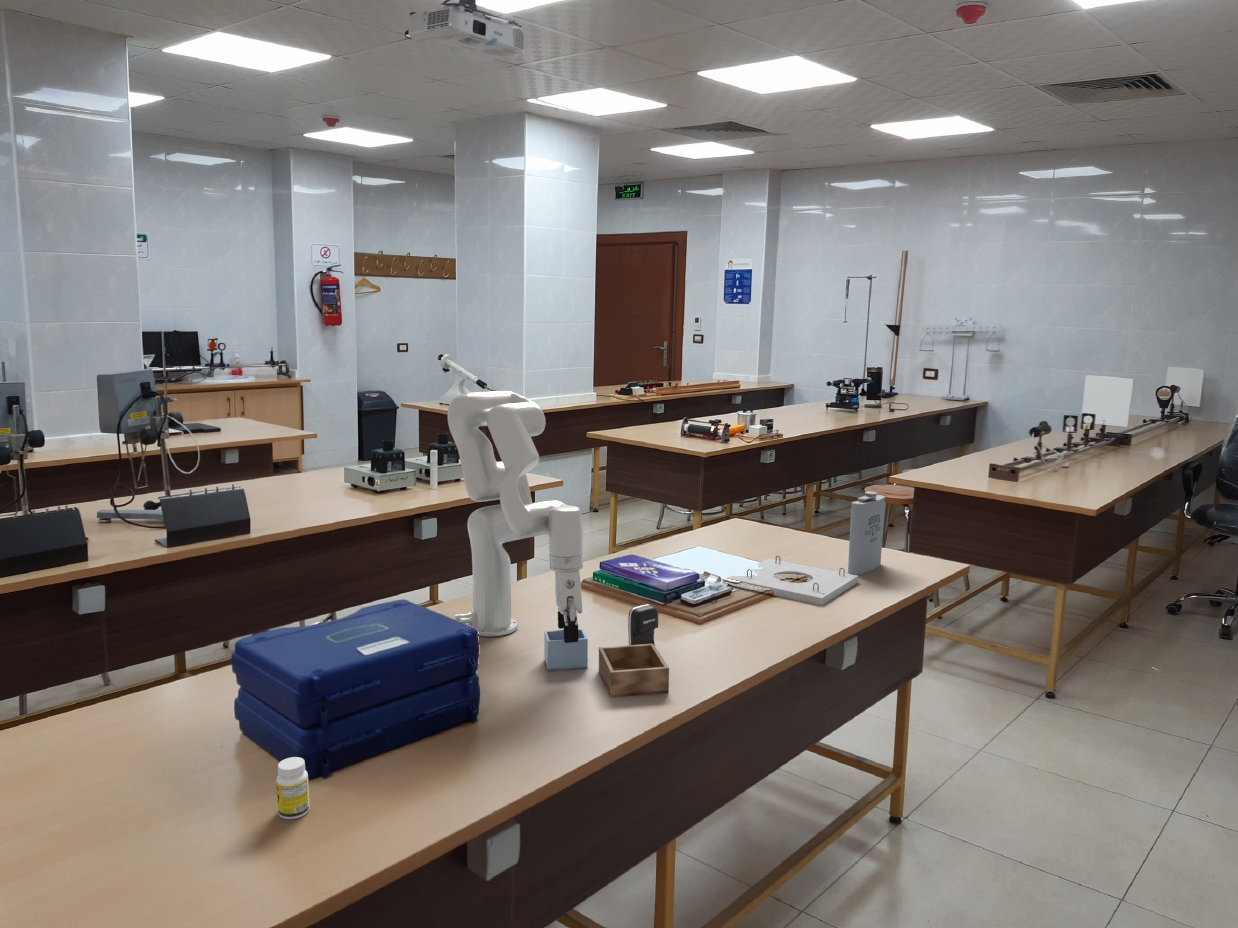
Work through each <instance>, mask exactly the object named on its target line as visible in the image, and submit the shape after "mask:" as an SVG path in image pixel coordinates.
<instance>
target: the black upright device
mask: <svg viewBox="0 0 1238 928" xmlns="http://www.w3.org/2000/svg"><path fill="white" fill-rule="evenodd" d="M658 611H659V610H658V609H657V608H656V607H655V606H652V605H651V604H648V603H647V604H642V605H637V606H634V607H631V609H630V610H629V612H628V622H627V623H628V624H627V627H628V628H627V629H628V630H627V631H628V645H641V644H654V646H655V647H656V644H655V629H658V628H659V612H658Z"/></svg>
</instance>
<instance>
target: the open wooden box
mask: <svg viewBox="0 0 1238 928" xmlns="http://www.w3.org/2000/svg"><path fill="white" fill-rule="evenodd" d="M654 644H655V643H654ZM654 644H641V645H629V644H628V645H626V644H625V645H615V646H614V645H612V646H601V647H598V672H599V674H600V677H601V680H602V681H603V683H604V686H605V688H606V690H607V692H608V694H609V697H610V698H617V697H618V698H619V697H629V696H630V697H631V696H643V695H655V694H656V695H657V694H666V693H667V694H668V693H669V691H670V689H669V688H670V686H669V685H670V667H669V666H668V664H667V663H666V660H665V659H664V658H663V656H662V655H661V653H660V651H659V650H658V649H657V647H656V645H655V646H654Z"/></svg>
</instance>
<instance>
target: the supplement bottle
mask: <svg viewBox="0 0 1238 928" xmlns="http://www.w3.org/2000/svg"><path fill="white" fill-rule="evenodd" d="M277 774H278V775H277V776H276V779H275V780H276V795H277V796H276V797H277V811H278V816H279V817H280V818H282V819H284V820H296V819H299V818H301V817H304V816H305V815H306V814H308V813H309V811H310V807H311V804H310V788H309V787H310V785H309V774H308V771H307V770H306V763H305V759H304V758H302V757H300V756H299V757H298V756H292V757H287V758H285V759H283V760H282V759H281V760H280V761H279V762H278V765H277Z"/></svg>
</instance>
